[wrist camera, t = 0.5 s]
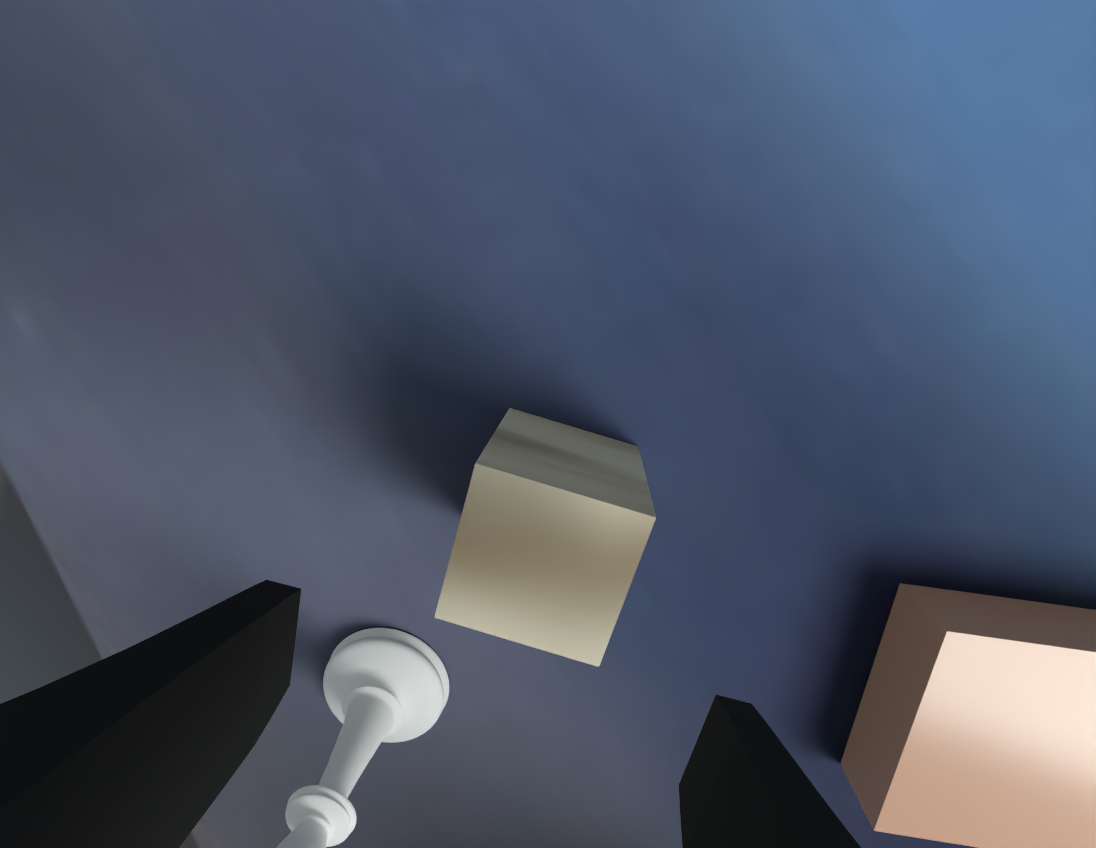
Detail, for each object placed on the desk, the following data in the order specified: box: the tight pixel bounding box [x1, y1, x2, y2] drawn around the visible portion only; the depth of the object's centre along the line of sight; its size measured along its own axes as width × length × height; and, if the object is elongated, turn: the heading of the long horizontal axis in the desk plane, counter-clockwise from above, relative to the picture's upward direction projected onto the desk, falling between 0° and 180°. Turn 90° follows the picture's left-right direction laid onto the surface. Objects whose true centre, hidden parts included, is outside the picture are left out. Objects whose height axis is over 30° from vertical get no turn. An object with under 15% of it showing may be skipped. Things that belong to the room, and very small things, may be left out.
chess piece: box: [277, 628, 449, 848], centre depth 17 cm, size 5×5×10 cm
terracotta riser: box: [840, 583, 1096, 848], centre depth 19 cm, size 8×8×3 cm
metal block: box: [434, 408, 656, 667], centre depth 16 cm, size 4×4×6 cm
